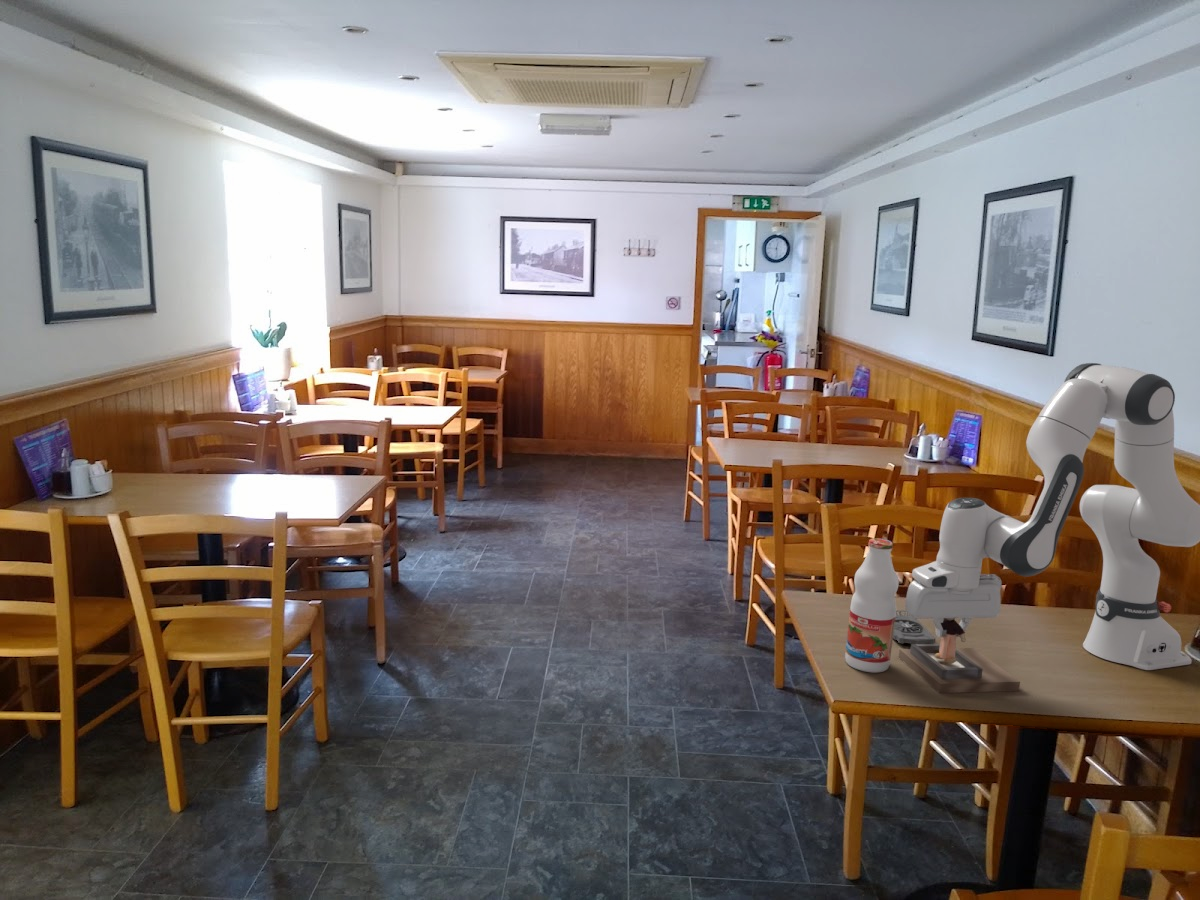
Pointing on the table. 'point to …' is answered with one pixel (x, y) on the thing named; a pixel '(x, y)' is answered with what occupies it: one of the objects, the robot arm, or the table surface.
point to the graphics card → (910, 630)
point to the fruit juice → (873, 610)
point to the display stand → (958, 670)
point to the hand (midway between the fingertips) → (949, 636)
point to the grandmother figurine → (949, 640)
